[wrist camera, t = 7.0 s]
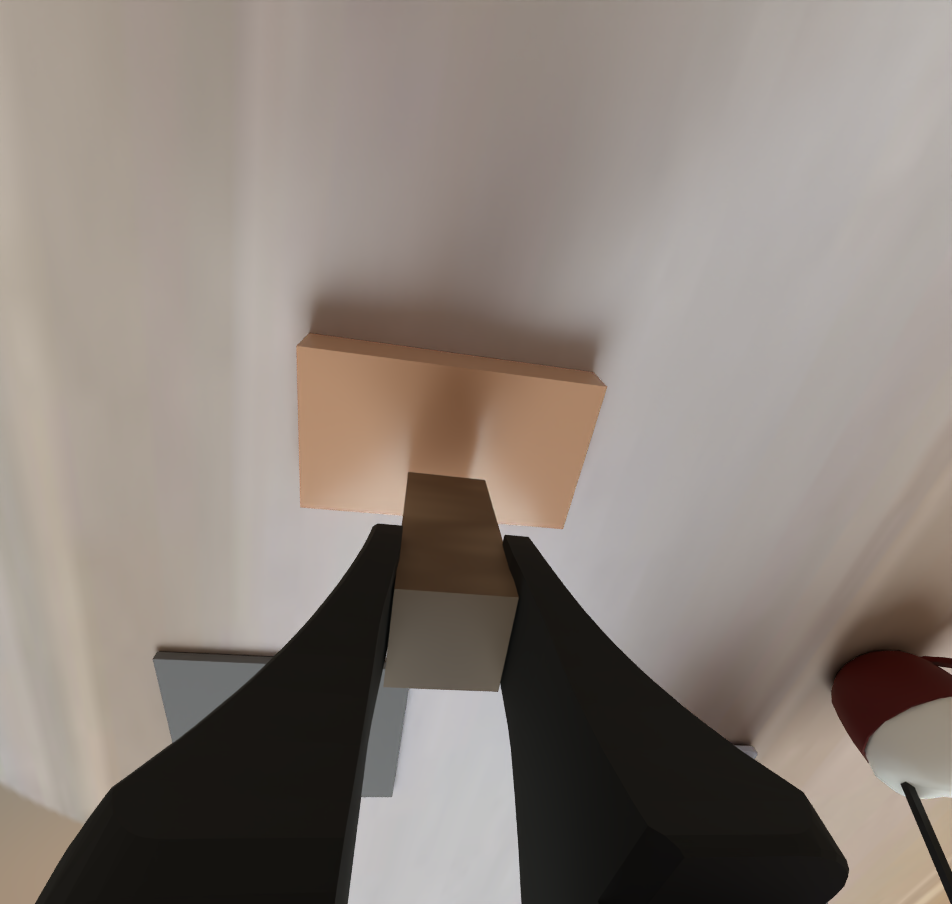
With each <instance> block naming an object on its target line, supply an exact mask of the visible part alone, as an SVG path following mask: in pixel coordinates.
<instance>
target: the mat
mask: <svg viewBox="0 0 952 904" xmlns="http://www.w3.org/2000/svg"><path fill="white" fill-rule="evenodd" d="M272 658H273V657H262V656H240V655H219V654H198V653H176V652H157V653H156V655H155V656H154V658H153V662H154V667H155V671H156V675H157V679H158V683H159V688H160V692H161V696H162V700H163V705H164V709H165V713H166V717H167V721H168V726H169V730H170V734H171V738H172V743H173V742H175V741H176V740H177V739H179V738H180V737H181V736H183V735H184V734H185V733H186V732H188V731H189V730H190V729H191V728H193V727H194V726H195V725H196V724H198V723H199V722H200V721H201V720H202V719H204V718H205V717H206V716H207V715H209V714H210V713H211V712H212V711H213V710H215V709H216V708H217V707H218V706H219V705H221V704H222V703H223V702H224V701H225V700H227V699H228V698H229V697H230V696H231V695H233V694H234V693H235V692H236V691H237V690H239V689H240V688H241V687H242V686H243V685H244V684H245V683H246V682H247V681H249V680H250V679H251V678H252V677H253V676H254V675H255V674H256V673H257V672H258V671H259V670H260V669H261V668H263V667H264V666H265V665H266V664H267V663H268V662H269V661H270V660H271V659H272ZM385 667H386V662H384V667H383V672H382V676H381V681H380V686H379V690H378V695H377V700H376V704H375V709H374V714H373V719H372V724H371V729H370V735H369V741H368V748H367V755H366V763H365V771H364V779H363V786H362V794H361V797H392V794H393V787H394V781H395V774H396V768H397V761H398V754H399V748H400V741H401V735H402V728H403V722H404V715H405V708H406V702H407V695H408V689H409V688H390V687H383V685H384V676H385Z"/></svg>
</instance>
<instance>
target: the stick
mask: <svg viewBox="0 0 952 904" xmlns="http://www.w3.org/2000/svg"><path fill="white" fill-rule="evenodd" d="M402 526H403V533H402V541H401V550H400V559H399V563H398V567H397V571H396V579H395V588H394V596H393V605H392V614H391V623H390V632H389V641H388V649H387V658H386V667H385V676H384V685H383V687H390V688H416V689H441V690H467V691H493V692H498V690H499V685H500V681H501V676H502V672H503V667H504V663H505V658H506V654H507V649H508V645H509V640H510V635H511V631H512V626H513V622H514V617H515V613H516V608H517V604H518V599H519V596H518V593H517V589H516V586H515V582H514V579H513V577H512V574H511V572H510V570H509V567H508V563H507V560H506V556H505V552H504V549H503V545H502V544H503V540H502V537H501V533H500V530H499V526H498V523H497V519H496V516H495V512H494V509H493V506H492V502H491V499H490V495H489V492H488V488H487V485H486V481H485V480H482V479H472V478H463V477H453V476H444V475H434V474H425V473H415V472H408V478H407V486H406V495H405V503H404V511H403V520H402Z"/></svg>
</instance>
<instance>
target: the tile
mask: <svg viewBox="0 0 952 904" xmlns="http://www.w3.org/2000/svg"><path fill="white" fill-rule="evenodd" d="M296 348H297V389H298V430H299V470H300V507H302V508H314V509H326V510H338V511H350V512H363V513H375V514H387V515H399V516H403V511H404V503H405V495H406V486H407V478H408V472H415V473H425V474H434V475H444V476H453V477H463V478H472V479H482V480H485V481H486V485H487V488H488V492H489V495H490V499H491V502H492V506H493V509H494V512H495V516H496V519H497V523H498V524H508V525H520V526H532V527H544V528H556V529H563V527H564V524H565V521H566V517H567V514H568V511H569V508H570V505H571V501H572V498H573V495H574V492H575V489H576V485H577V482H578V479H579V476H580V472H581V469H582V466H583V463H584V460H585V456H586V453H587V450H588V447H589V443H590V440H591V437H592V434H593V431H594V427H595V424H596V421H597V418H598V415H599V411H600V408H601V405H602V402H603V398H604V395H605V392H606V389H607V386H606V385H605V384H604V383H603V382H602V381H601V380H600V379H599V378H598V377H597V375H596V374H595V373H594V372H589V371H582V370H574V369H567V368H560V367H553V366H545V365H538V364H531V363H524V362H516V361H509V360H502V359H494V358H487V357H480V356H473V355H465V354H458V353H451V352H444V351H436V350H429V349H422V348H414V347H407V346H400V345H393V344H385V343H378V342H371V341H364V340H356V339H349V338H342V337H334V336H327V335H320V334H313V333H309V334H308V335H307V336H306V337H305V338H304V339H303V340H302V341H301V342H300V343H299V344H298V345H297V346H296Z"/></svg>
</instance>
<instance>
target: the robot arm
mask: <svg viewBox="0 0 952 904" xmlns="http://www.w3.org/2000/svg"><path fill="white" fill-rule="evenodd" d="M402 533H403V526H399V525H388V524H376V525H375V526H373V527H372V530H371V532H370V534H369V536H368V538H367V540H366V542H365V544H364V546H363V547H362V549H361V551H360V552H359V554H358V555H357V557H356V559H355V560H354V562H353V563H352V565H351V566H350V568H349V569H348V570H347V572H346V573H345V575H344V576H343V578H342V579H341V580H340V582H339V583H338V585H337V586H336V587H335V589H334V590H333V591H332V592H331V594H330V595H329V596H328V597H327V599H326V600H325V601H324V602H323V604H322V605H321V606H320V607H319V608H318V610H317V611H316V612H315V613H314V615H313V616H312V617H311V618H310V619H309V620H308V621H307V623H306V624H305V625H304V626H303V627H302V628H301V629H300V630H299V631H298V632H297V634H296V635H295V636H294V637H293V638H292V639H291V640H290V641H289V642H288V643H287V644H286V645H285V646H284V647H283V648H282V649H281V650H280V651H279V652H278V653H277V654H276V655H275V656H274V657H273V658H272V659H271V660H270V661H269V662H268V663H267V664H266V665H265V666H264V667H263V668H261V669H260V670H259V671H258V672H257V673H256V674H255V675H254V676H253V677H252V678H251V679H250V680H249V681H247V682H246V683H245V684H244V685H243V686H242V687H241V688H240V689H239V690H237V691H236V692H235V693H234V694H233V695H231V696H230V697H229V698H228V699H227V700H225V701H224V702H223V703H222V704H221V705H219V706H218V707H217V708H216V709H215V710H213V711H212V712H211V713H210V714H209V715H207V716H206V717H205V718H204V719H202V720H201V721H200V722H199V723H198V724H196V725H195V726H194V727H193V728H191V729H190V730H189V731H188V732H186V733H185V734H184V735H183V736H181V737H180V738H179V739H177V740H176V741H175V742H173V743H172V744H170V745H169V746H168V747H166V748H165V749H164V750H162V751H161V752H160V753H158V754H157V755H156V756H154V757H153V758H151V759H150V760H149V761H147V762H146V763H145V764H143V765H142V766H141V767H139V768H138V769H136V770H135V771H134V772H132V773H131V774H130V775H128V776H127V777H126V778H124V779H123V780H121V781H120V782H119V783H117V784H116V785H114V786H113V787H112V788H111V789H110V790H109V792H108V793H107V794H106V795H105V797H104V798H103V799H102V801H101V802H100V803H99V805H98V806H97V808H96V809H95V810H94V812H93V813H92V814H91V816H90V817H89V818H88V820H87V821H86V823H85V824H84V826H83V827H82V829H81V830H80V832H79V833H78V834H77V836H76V837H75V839H74V840H73V841H72V843H71V844H70V845H69V847H68V849H67V850H66V852H65V853H64V855H63V857H62V858H61V860H60V861H59V863H58V865H57V866H56V868H55V870H54V872H53V873H52V875H51V877H50V879H49V880H48V882H47V884H46V886H45V887H44V889H43V891H42V892H41V894H40V896H39V898H38V900H37V901H36V903H35V904H348V896H349V888H350V880H351V873H352V865H353V857H354V849H355V841H356V833H357V825H358V818H359V810H360V802H361V794H362V786H363V779H364V771H365V763H366V755H367V748H368V741H369V735H370V729H371V724H372V719H373V714H374V709H375V704H376V700H377V695H378V690H379V686H380V681H381V676H382V672H383V667H384V662H385V657H386V653H387V648H388V641H389V632H390V623H391V614H392V605H393V596H394V588H395V579H396V571H397V567H398V563H399V559H400V550H401V541H402ZM502 545H503V549H504V552H505V556H506V560H507V563H508V567H509V570H510V572H511V574H512V577H513V579H514V582H515V586H516V589H517V593H518V596H519V599H518V604H517V608H516V613H515V617H514V622H513V626H512V631H511V635H510V640H509V645H508V649H507V654H506V658H505V663H504V667H503V672H502V676H501V681H500V684H501V690H502V695H503V701H504V707H505V712H506V718H507V724H508V730H509V738H510V745H511V756H512V768H513V780H514V792H515V805H516V820H517V834H518V848H519V866H520V884H521V902H522V904H828V901H830V900H831V899H832V898H833V897H834V896H835V895H836V894H837V893H838V892H839V891H840V890H841V889H842V888H843V887H844V885H845V883H846V880H847V878H848V873H849V867H848V864H847V860H846V859H845V857H844V855H843V854H842V852H841V851H840V849H839V847H838V846H837V844H836V843H835V841H834V840H833V838H832V836H831V835H830V833H829V832H828V830H827V828H826V827H825V825H824V824H823V822H822V820H821V819H820V817H819V816H818V814H817V813H816V811H815V809H814V808H813V806H812V805H811V803H810V802H809V800H808V799H807V797H806V796H805V794H804V793H803V792H802V791H801V790H799V789H798V788H796V787H795V786H793V785H792V784H790V783H789V782H787V781H786V780H784V779H783V778H781V777H780V776H778V775H777V774H775V773H774V772H772V771H771V770H769V769H768V768H766V767H765V766H763V765H762V764H760V763H759V762H757V761H756V760H755V758H756V756H757V751H756V750H755V748H754V747H753V746H741V745H733V744H732V743H730V742H729V741H728V740H726V739H725V738H724V737H722V736H721V735H720V734H718V733H717V732H716V731H714V730H713V729H712V728H710V727H709V726H707V725H706V724H705V723H703V722H702V721H701V720H700V719H698V718H697V717H696V716H695V715H693V714H692V713H691V712H690V711H688V710H687V709H686V708H685V707H683V706H682V705H681V704H680V703H679V702H677V701H676V700H675V699H674V698H673V697H672V696H670V695H669V694H668V693H667V692H666V691H664V690H663V689H662V688H661V687H660V686H659V685H657V684H656V683H655V682H654V681H653V680H652V679H651V678H650V677H648V676H647V675H646V674H645V673H644V672H643V671H642V670H641V669H640V668H639V667H638V666H637V665H636V664H635V663H634V662H633V661H631V660H630V659H629V658H628V657H627V656H626V655H625V654H624V653H623V652H622V651H621V650H620V649H619V648H618V647H617V646H616V645H615V644H614V643H613V642H612V641H611V640H610V639H609V637H608V636H607V635H606V634H605V633H604V632H603V631H602V630H601V629H600V628H599V627H598V625H597V624H596V623H595V622H594V621H593V620H592V619H591V617H590V616H589V615H588V614H587V613H586V612H585V611H584V609H583V608H582V607H581V606H580V605H579V603H578V602H577V601H576V600H575V598H574V597H573V596H572V595H571V593H570V592H569V591H568V589H567V588H566V587H565V586H564V584H563V583H562V582H561V580H560V579H559V578H558V576H557V575H556V574H555V572H554V571H553V570H552V568H551V567H550V566H549V564H548V563H547V562H546V560H545V559H544V557H543V556H542V555H541V553H540V552H539V550H538V549H537V548H536V546H535V545H534V544H533V542H532V541H531V540H530V538H529V537H523V536H512V535H505V536H504V540H503V544H502Z"/></svg>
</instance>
